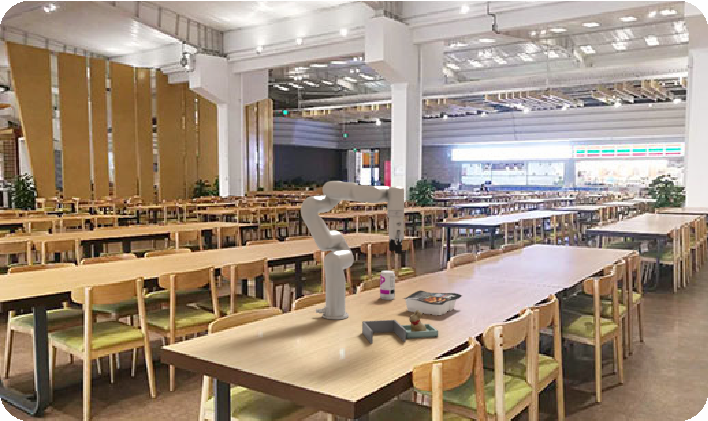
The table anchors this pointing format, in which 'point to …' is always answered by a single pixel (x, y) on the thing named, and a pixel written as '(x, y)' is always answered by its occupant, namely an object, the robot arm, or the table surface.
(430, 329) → the tray
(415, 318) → the chocolate bunny
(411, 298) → the food packaging
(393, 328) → the bay
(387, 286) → the supplement can
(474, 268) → the table surface
